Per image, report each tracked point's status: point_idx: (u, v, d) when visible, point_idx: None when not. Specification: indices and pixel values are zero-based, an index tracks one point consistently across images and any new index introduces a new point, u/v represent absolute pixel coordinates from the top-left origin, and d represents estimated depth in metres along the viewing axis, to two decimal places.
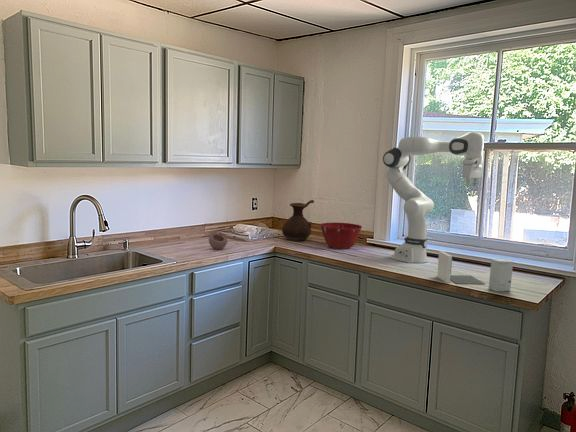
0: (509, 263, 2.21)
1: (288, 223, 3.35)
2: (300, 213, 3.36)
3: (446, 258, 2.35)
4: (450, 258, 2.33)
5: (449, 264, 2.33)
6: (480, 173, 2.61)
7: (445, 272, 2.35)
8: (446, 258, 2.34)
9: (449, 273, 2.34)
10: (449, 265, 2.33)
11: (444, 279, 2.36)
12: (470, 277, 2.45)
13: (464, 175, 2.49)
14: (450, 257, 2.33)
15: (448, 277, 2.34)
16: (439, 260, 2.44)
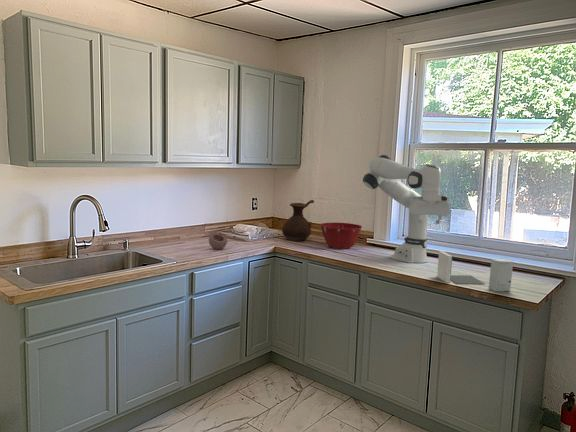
0: (509, 263, 2.21)
1: (288, 223, 3.35)
2: (300, 213, 3.36)
3: (445, 258, 2.35)
4: (450, 258, 2.33)
5: (449, 264, 2.33)
6: None
7: (445, 272, 2.35)
8: (446, 258, 2.34)
9: (449, 273, 2.34)
10: (449, 265, 2.33)
11: (444, 279, 2.36)
12: (470, 277, 2.45)
13: None
14: (450, 257, 2.33)
15: (448, 277, 2.34)
16: (439, 260, 2.44)
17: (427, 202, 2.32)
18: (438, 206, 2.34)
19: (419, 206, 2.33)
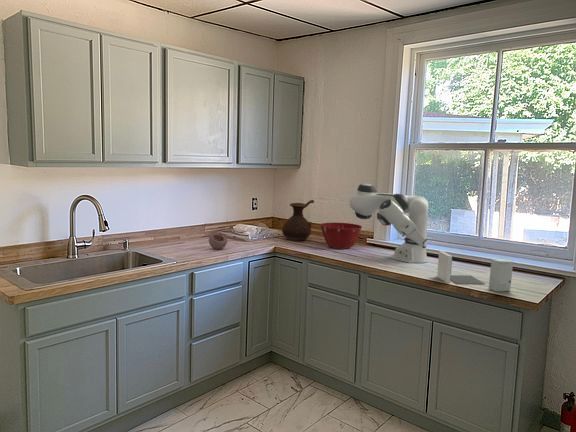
0: (509, 263, 2.21)
1: (288, 223, 3.35)
2: (300, 213, 3.36)
3: (446, 258, 2.35)
4: (450, 258, 2.33)
5: (449, 264, 2.33)
6: None
7: (445, 272, 2.35)
8: (446, 258, 2.34)
9: (449, 273, 2.34)
10: (449, 265, 2.33)
11: (444, 279, 2.36)
12: (470, 277, 2.45)
13: (419, 241, 2.27)
14: (450, 257, 2.33)
15: (448, 277, 2.34)
16: (439, 260, 2.44)
17: None
18: None
19: None
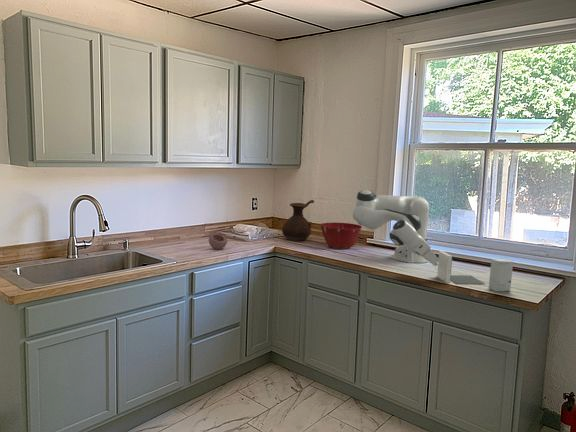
0: (509, 263, 2.21)
1: (288, 223, 3.35)
2: (300, 213, 3.36)
3: (445, 258, 2.35)
4: (450, 258, 2.33)
5: (449, 264, 2.33)
6: None
7: (445, 272, 2.35)
8: (446, 258, 2.34)
9: (449, 273, 2.34)
10: (449, 265, 2.33)
11: (444, 279, 2.36)
12: (470, 277, 2.45)
13: (434, 262, 2.28)
14: (450, 257, 2.33)
15: (448, 277, 2.34)
16: (439, 260, 2.44)
17: None
18: None
19: None
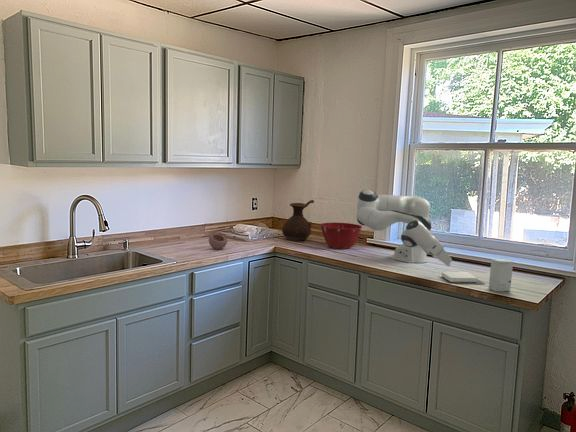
0: (509, 263, 2.21)
1: (288, 223, 3.35)
2: (300, 213, 3.36)
3: (472, 276, 2.37)
4: (474, 280, 2.35)
5: (469, 280, 2.35)
6: None
7: (459, 277, 2.36)
8: (472, 277, 2.36)
9: (460, 280, 2.35)
10: (468, 280, 2.35)
11: (451, 276, 2.36)
12: None
13: (447, 262, 2.29)
14: (475, 280, 2.35)
15: (456, 279, 2.34)
16: (459, 272, 2.45)
17: None
18: None
19: None
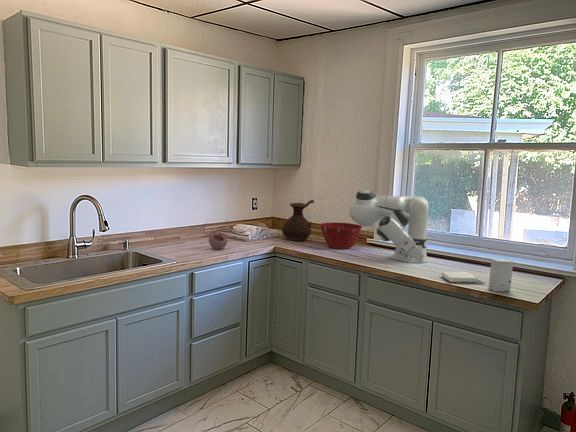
0: (509, 263, 2.21)
1: (288, 223, 3.35)
2: (300, 213, 3.36)
3: (472, 276, 2.37)
4: (474, 280, 2.35)
5: (469, 280, 2.35)
6: None
7: (459, 277, 2.36)
8: (472, 277, 2.36)
9: (460, 280, 2.35)
10: (468, 280, 2.35)
11: (451, 276, 2.36)
12: None
13: (419, 258, 2.28)
14: (475, 280, 2.35)
15: (456, 279, 2.34)
16: (459, 272, 2.45)
17: None
18: None
19: None
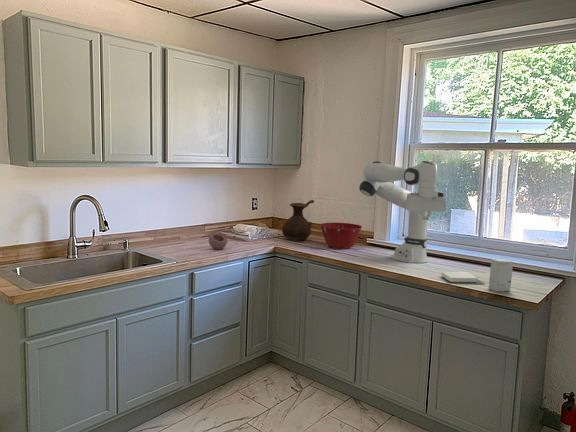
0: (509, 263, 2.21)
1: (288, 223, 3.35)
2: (300, 213, 3.36)
3: (472, 276, 2.37)
4: (474, 280, 2.35)
5: (469, 280, 2.35)
6: None
7: (459, 277, 2.36)
8: (472, 277, 2.36)
9: (460, 280, 2.35)
10: (468, 280, 2.35)
11: (451, 276, 2.36)
12: None
13: None
14: (475, 280, 2.35)
15: (456, 279, 2.34)
16: (459, 272, 2.45)
17: (424, 198, 2.33)
18: (435, 202, 2.34)
19: (416, 202, 2.34)
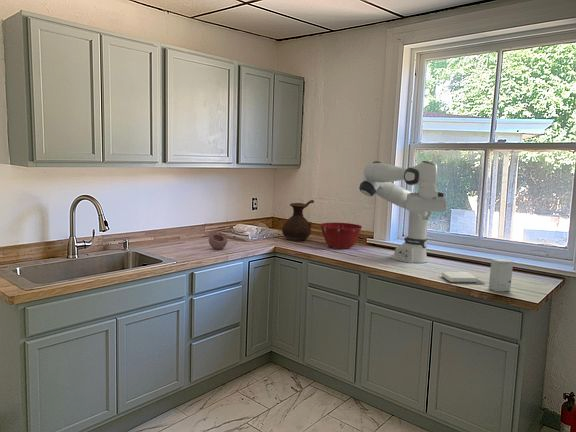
0: (509, 263, 2.21)
1: (288, 223, 3.35)
2: (300, 213, 3.36)
3: (472, 276, 2.37)
4: (474, 280, 2.35)
5: (469, 280, 2.35)
6: None
7: (459, 277, 2.36)
8: (472, 277, 2.36)
9: (460, 280, 2.35)
10: (468, 280, 2.35)
11: (451, 276, 2.36)
12: None
13: None
14: (475, 280, 2.35)
15: (456, 279, 2.34)
16: (459, 272, 2.45)
17: (424, 198, 2.33)
18: (435, 202, 2.34)
19: (416, 202, 2.34)
